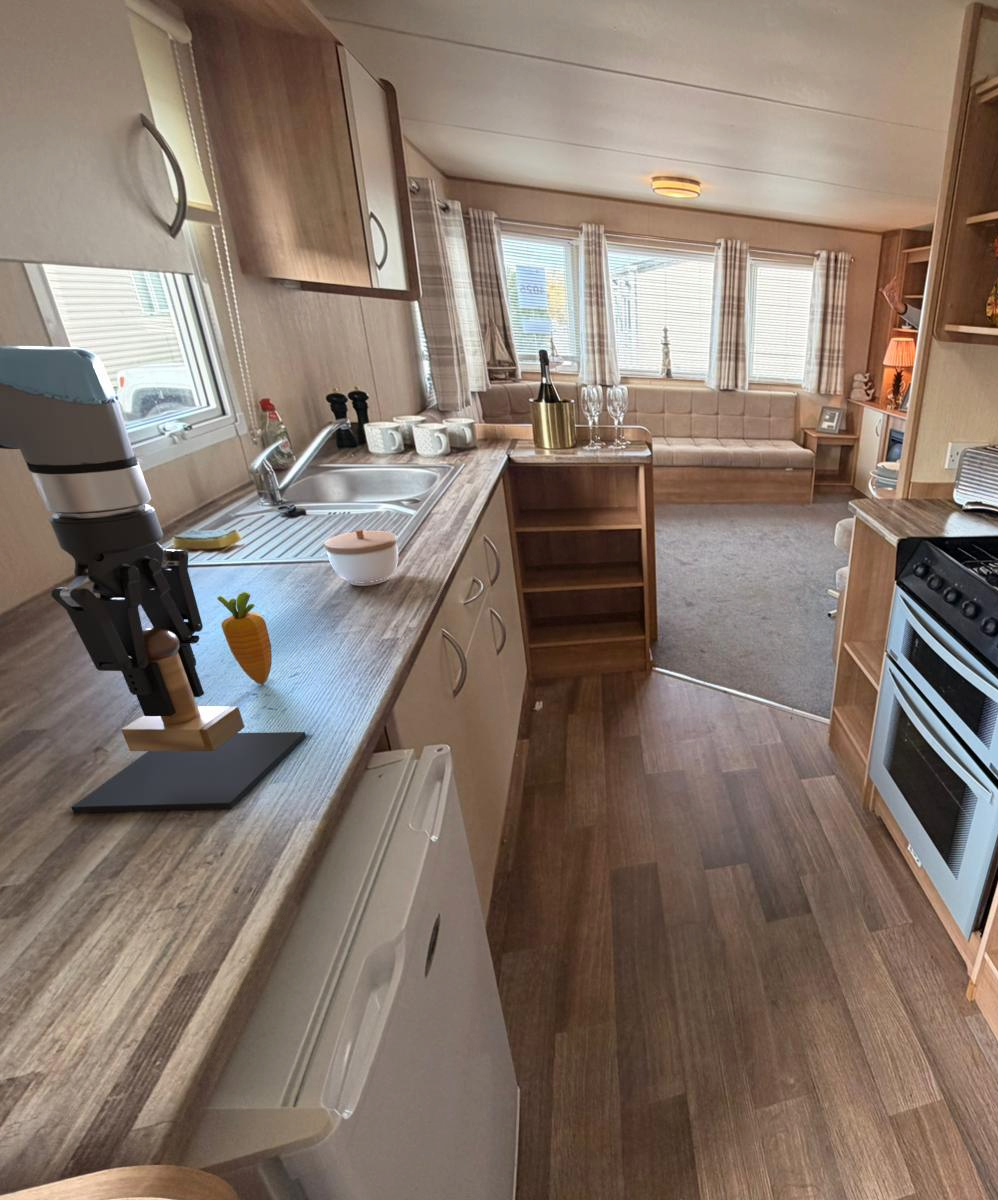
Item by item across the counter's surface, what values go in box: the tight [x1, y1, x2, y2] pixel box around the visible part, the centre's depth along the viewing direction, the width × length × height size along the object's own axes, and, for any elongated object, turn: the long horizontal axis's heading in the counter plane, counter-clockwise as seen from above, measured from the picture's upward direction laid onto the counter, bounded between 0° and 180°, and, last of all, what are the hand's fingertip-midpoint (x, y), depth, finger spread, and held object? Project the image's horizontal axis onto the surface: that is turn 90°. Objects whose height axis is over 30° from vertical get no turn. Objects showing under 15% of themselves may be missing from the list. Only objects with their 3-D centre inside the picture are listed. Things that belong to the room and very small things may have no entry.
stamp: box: [120, 627, 246, 752], centre depth 73 cm, size 9×5×14 cm, turn 94°
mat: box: [70, 731, 307, 814], centre depth 77 cm, size 16×14×1 cm
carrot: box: [216, 591, 273, 686], centre depth 93 cm, size 5×5×15 cm
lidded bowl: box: [323, 529, 399, 587], centre depth 134 cm, size 13×13×11 cm
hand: (175, 704), depth 74 cm, fingers closed on stamp, 3 cm apart
